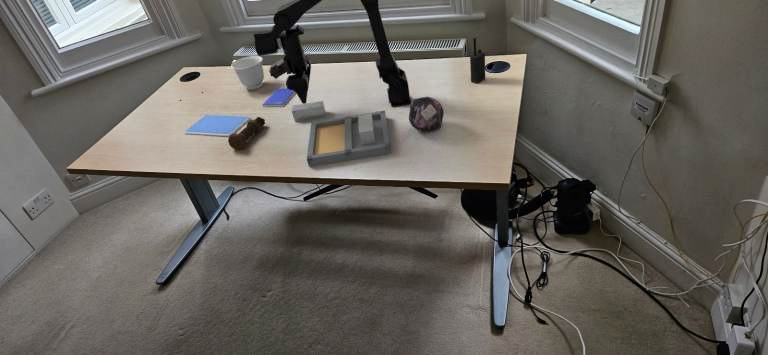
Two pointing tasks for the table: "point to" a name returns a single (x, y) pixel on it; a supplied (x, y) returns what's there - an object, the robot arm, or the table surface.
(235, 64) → the teacup
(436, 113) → the mineral specimen
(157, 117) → the table surface
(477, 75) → the walkie-talkie
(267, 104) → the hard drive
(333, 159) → the grey divided tray
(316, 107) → the block
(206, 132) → the light blue book
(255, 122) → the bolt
